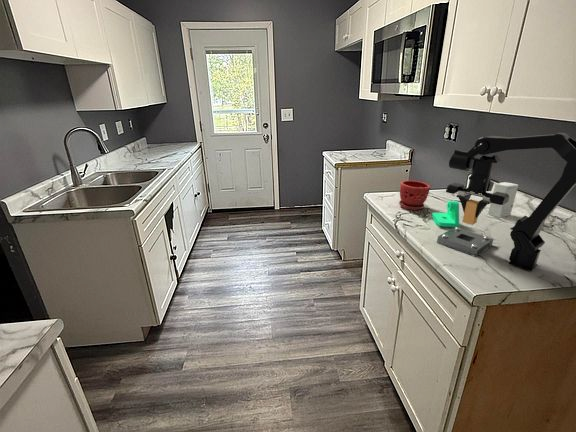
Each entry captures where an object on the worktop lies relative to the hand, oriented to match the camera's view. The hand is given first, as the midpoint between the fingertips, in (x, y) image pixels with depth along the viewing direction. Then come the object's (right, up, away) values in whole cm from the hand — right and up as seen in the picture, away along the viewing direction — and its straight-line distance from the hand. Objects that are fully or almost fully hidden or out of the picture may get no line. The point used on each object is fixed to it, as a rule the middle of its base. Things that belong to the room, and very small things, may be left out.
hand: (470, 215), depth 113 cm
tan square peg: (0, -2, +1) cm, 3 cm away
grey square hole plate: (0, -10, +4) cm, 11 cm away
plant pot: (-5, +4, +41) cm, 42 cm away
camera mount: (+1, -3, +23) cm, 23 cm away
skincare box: (+31, 0, +32) cm, 45 cm away
